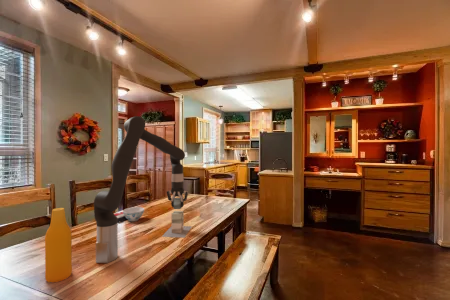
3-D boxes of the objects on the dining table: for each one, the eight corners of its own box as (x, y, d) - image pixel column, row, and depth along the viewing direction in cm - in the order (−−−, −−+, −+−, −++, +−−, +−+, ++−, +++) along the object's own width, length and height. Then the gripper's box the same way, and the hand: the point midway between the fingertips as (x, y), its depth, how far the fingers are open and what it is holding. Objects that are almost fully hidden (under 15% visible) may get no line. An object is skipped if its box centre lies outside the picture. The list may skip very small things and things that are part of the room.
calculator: (132, 212, 180) (117, 217, 166) (132, 218, 180) (117, 223, 166) (121, 211, 184) (106, 215, 170) (121, 216, 183) (105, 221, 169)
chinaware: (120, 219, 174) (120, 209, 174) (140, 215, 183) (140, 206, 183) (126, 224, 162) (126, 213, 162) (147, 220, 172) (147, 210, 172)
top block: (180, 223, 143) (180, 214, 143) (171, 223, 143) (171, 213, 143) (183, 220, 149) (183, 211, 149) (174, 220, 149) (174, 211, 149)
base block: (180, 233, 143) (180, 223, 143) (171, 232, 143) (171, 223, 143) (183, 229, 149) (183, 220, 149) (174, 229, 149) (174, 220, 149)
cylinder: (180, 209, 143) (180, 199, 143) (172, 209, 144) (172, 199, 144) (182, 207, 148) (182, 197, 148) (174, 206, 149) (174, 197, 149)
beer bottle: (54, 285, 92) (53, 213, 91) (40, 280, 95) (39, 210, 95) (77, 273, 100) (76, 207, 100) (62, 269, 104) (62, 205, 103)
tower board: (184, 240, 136) (184, 237, 136) (161, 239, 137) (161, 236, 137) (191, 228, 155) (191, 226, 155) (171, 227, 156) (171, 225, 156)
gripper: (164, 181, 142) (164, 208, 143) (187, 181, 141) (187, 209, 141) (168, 179, 150) (168, 205, 150) (189, 179, 149) (190, 205, 149)
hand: (177, 207), depth 146 cm, fingers closed on cylinder, 5 cm apart
